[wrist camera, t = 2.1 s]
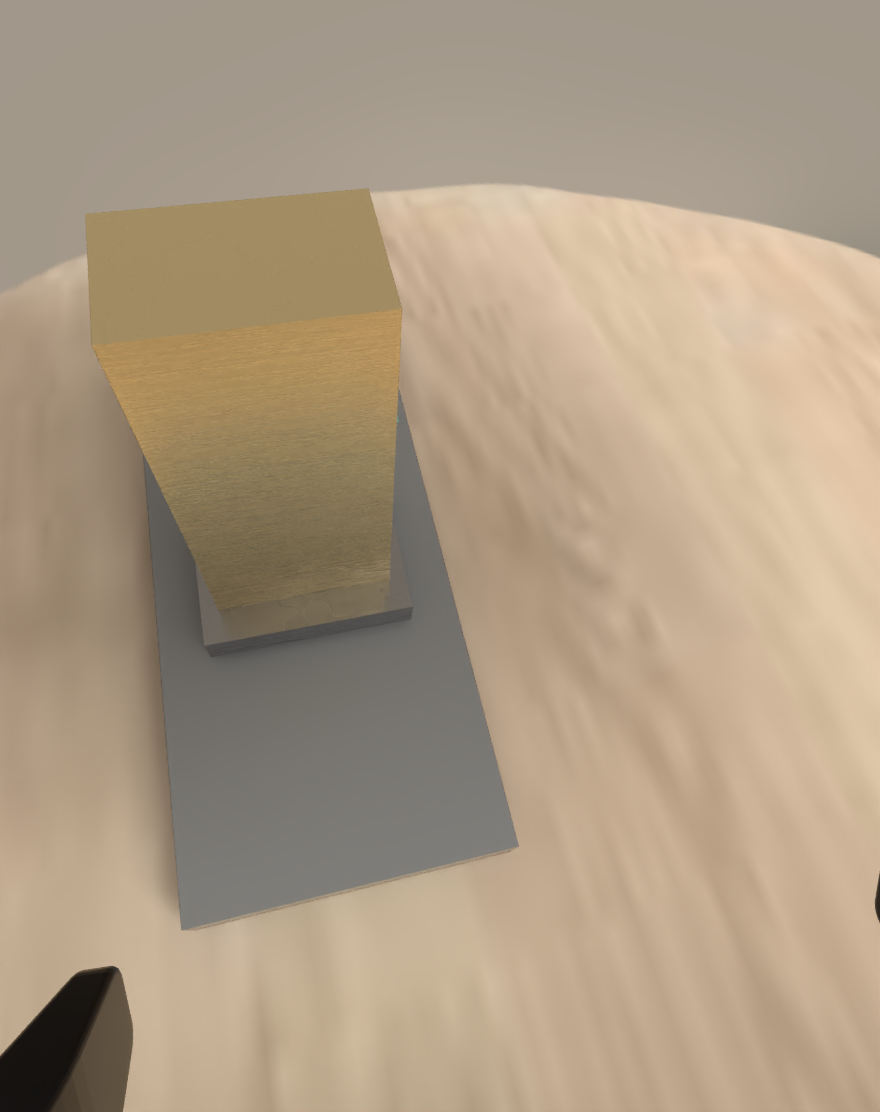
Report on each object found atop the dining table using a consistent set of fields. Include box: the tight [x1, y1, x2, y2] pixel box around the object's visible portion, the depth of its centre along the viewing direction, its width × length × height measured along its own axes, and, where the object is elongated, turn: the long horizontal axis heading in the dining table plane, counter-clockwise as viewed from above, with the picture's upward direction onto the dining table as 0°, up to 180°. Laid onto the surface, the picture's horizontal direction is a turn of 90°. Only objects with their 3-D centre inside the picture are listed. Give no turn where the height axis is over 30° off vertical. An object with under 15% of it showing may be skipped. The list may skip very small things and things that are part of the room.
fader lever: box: [85, 189, 413, 657], centre depth 18 cm, size 5×6×12 cm
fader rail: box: [143, 388, 519, 930], centre depth 24 cm, size 20×9×4 cm, turn 13°
